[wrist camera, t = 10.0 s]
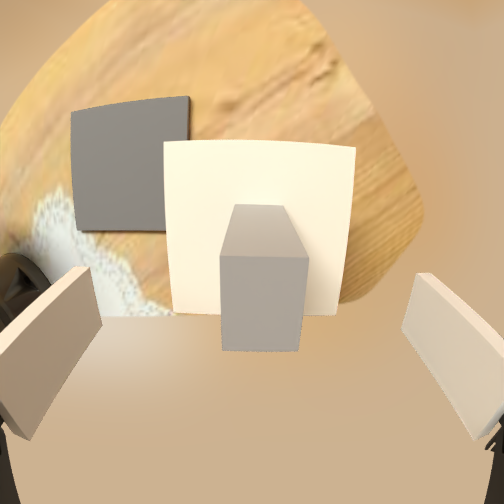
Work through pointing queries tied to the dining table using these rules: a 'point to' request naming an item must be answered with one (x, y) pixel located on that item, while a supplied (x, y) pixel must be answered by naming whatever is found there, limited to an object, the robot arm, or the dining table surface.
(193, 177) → the lid
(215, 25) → the dining table surface
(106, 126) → the mat
